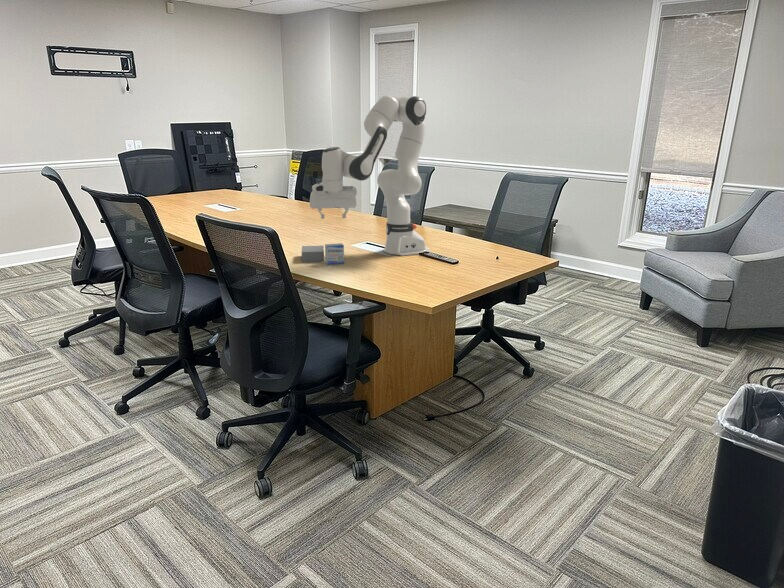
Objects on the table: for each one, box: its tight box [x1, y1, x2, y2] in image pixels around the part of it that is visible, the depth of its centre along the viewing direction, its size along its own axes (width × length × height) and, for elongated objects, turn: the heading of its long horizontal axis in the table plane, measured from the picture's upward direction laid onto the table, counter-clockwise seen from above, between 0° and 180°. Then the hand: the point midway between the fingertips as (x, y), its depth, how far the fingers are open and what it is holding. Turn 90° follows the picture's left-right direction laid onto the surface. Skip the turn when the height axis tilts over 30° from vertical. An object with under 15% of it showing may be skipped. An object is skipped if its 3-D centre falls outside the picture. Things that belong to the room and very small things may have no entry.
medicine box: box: [324, 242, 345, 266], centre depth 245 cm, size 8×4×9 cm, turn 105°
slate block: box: [301, 245, 325, 263], centre depth 253 cm, size 10×12×5 cm
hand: (333, 218), depth 240 cm, fingers open, 8 cm apart
